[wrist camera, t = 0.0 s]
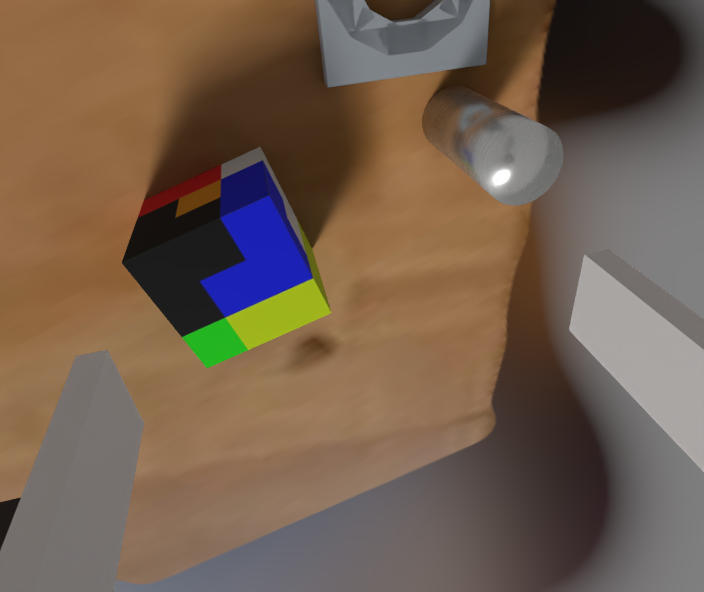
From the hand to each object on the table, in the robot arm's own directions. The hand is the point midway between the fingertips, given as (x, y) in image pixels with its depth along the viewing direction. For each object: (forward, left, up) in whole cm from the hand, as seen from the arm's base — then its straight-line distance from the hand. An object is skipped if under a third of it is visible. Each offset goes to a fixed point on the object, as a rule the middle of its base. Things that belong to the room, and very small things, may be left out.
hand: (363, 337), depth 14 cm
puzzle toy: (+9, -5, -28) cm, 30 cm away
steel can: (+3, +14, -28) cm, 31 cm away
